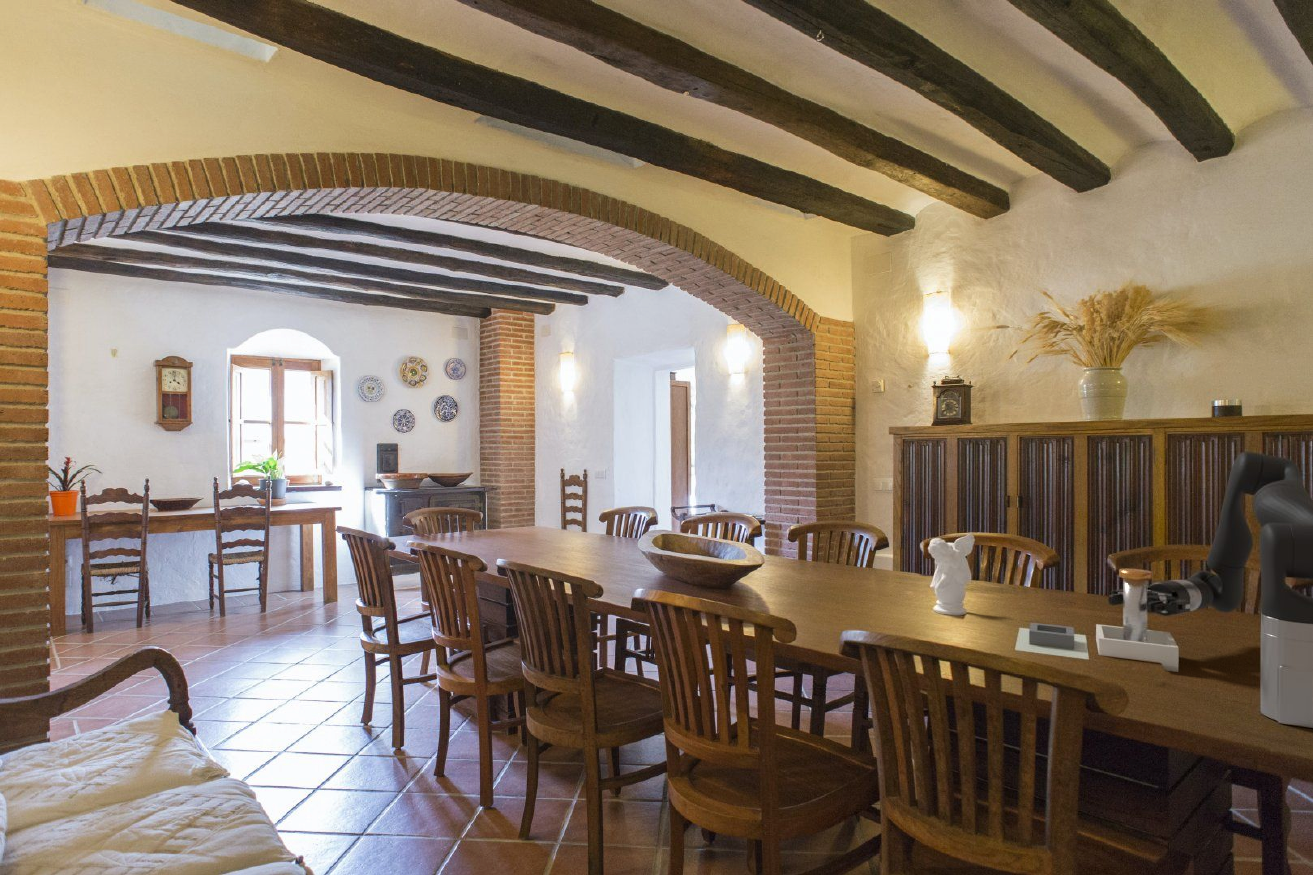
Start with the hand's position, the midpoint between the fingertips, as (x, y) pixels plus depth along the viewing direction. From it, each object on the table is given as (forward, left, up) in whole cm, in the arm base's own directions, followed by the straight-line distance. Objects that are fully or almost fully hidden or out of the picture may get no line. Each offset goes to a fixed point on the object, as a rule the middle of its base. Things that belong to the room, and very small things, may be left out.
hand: (1129, 603), depth 160 cm
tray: (+2, -1, -12) cm, 12 cm away
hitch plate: (+1, +15, -12) cm, 19 cm away
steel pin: (+2, -1, -11) cm, 11 cm away
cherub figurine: (+30, +40, -12) cm, 51 cm away
